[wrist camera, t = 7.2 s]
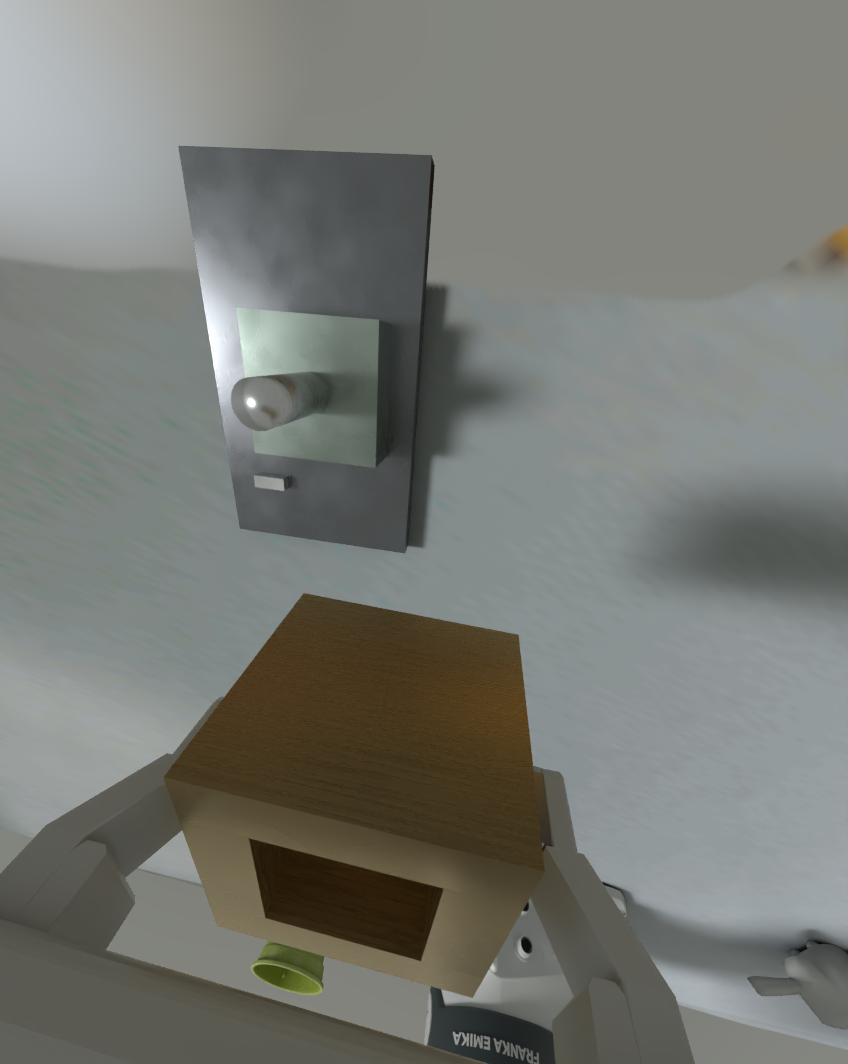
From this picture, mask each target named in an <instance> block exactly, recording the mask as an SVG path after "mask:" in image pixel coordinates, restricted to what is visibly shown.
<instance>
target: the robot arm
mask: <svg viewBox="0 0 848 1064" xmlns="http://www.w3.org/2000/svg"><path fill="white" fill-rule="evenodd" d="M223 698H224V697H220V698H219V699H217V700H216V701H215V702H214V703H213V704H212V705H211V706H210V708H209V709H208V710H207V711H206V713H205V714H204V715H203V716H202V718H201V719H200V720H199V722H198V723H197V724H196V725H195V727H194V728H193V729H192V730H191V732H190V733H189V734H188V735H187V737H186V738H185V739H184V741H183V742H182V743H181V744H180V746H179V747H178V748H177V749H176V751H175V752H174V753H173V754H168V753H167V754H165V755H164V756H162V757H160V758H159V759H157V760H155V761H153V762H152V763H150V764H148V765H147V766H145V767H143V768H142V769H140V770H138V771H137V772H135V773H133V774H132V775H130V776H128V777H127V778H125V779H123V780H122V781H120V782H118V783H116V784H115V785H113V786H111V787H110V788H108V789H106V790H105V791H103V792H101V793H100V794H98V795H96V796H95V797H93V798H91V799H90V800H88V801H86V802H85V803H83V804H81V805H79V806H78V807H76V808H74V809H73V810H71V811H69V812H68V813H66V814H64V815H63V816H61V817H59V818H58V819H56V820H54V821H53V822H51V823H49V824H48V825H46V826H45V827H44V828H43V829H42V830H41V831H40V832H39V833H38V834H37V835H36V836H35V837H34V839H33V840H32V841H31V842H30V843H29V844H28V845H27V846H26V847H25V848H24V849H23V850H22V852H20V853H19V855H18V856H17V857H16V858H15V859H14V860H13V861H12V862H11V863H10V864H9V865H8V866H7V867H6V868H5V869H4V870H3V872H2V873H1V874H0V1064H695V1062H694V1059H693V1056H692V1052H691V1049H690V1045H689V1042H688V1038H687V1035H686V1031H685V1028H684V1024H683V1021H682V1018H681V1014H680V1011H679V1008H678V1004H677V1001H676V997H675V995H674V994H673V992H672V991H671V989H670V988H669V986H668V984H667V983H666V981H665V980H664V978H663V977H662V975H661V974H660V972H659V970H658V969H657V967H656V966H655V964H654V963H653V961H652V960H651V958H650V956H649V955H648V953H647V952H646V950H645V949H644V947H643V946H642V944H641V942H640V941H639V939H638V938H637V936H636V935H635V933H634V932H633V930H632V928H631V927H630V925H629V924H628V922H627V921H626V916H627V910H626V904H625V899H624V897H623V895H622V893H621V892H620V891H619V890H616V889H614V888H611V887H608V886H605V885H603V883H602V882H601V880H600V879H599V877H598V876H597V874H596V872H595V871H594V869H593V868H592V866H591V865H590V863H589V862H588V860H587V858H586V857H585V855H584V854H580V853H577V847H576V842H575V836H574V831H573V826H572V820H571V815H570V810H569V804H568V799H567V793H566V788H565V783H564V778H563V776H562V774H561V773H560V772H557V771H552V770H548V769H543V768H539V767H536V766H533V770H534V779H535V788H536V797H537V806H538V815H539V824H540V833H541V842H542V851H543V860H544V869H545V873H544V874H543V876H542V878H541V879H540V881H539V883H538V885H537V886H536V888H535V890H534V892H533V893H532V895H531V897H530V899H529V900H528V902H527V904H526V906H525V907H524V909H523V911H522V913H521V914H520V916H519V918H518V920H517V921H516V923H515V925H514V927H513V928H512V930H511V932H510V934H509V935H508V937H507V939H506V941H505V942H504V944H503V946H502V948H501V949H500V951H499V953H498V955H497V956H496V958H495V960H494V962H493V963H492V965H491V967H490V969H489V970H488V972H487V974H486V976H485V977H484V979H483V981H482V983H481V984H480V986H479V988H478V990H477V991H476V993H475V995H474V997H473V998H471V997H467V996H464V995H460V994H456V993H453V992H449V991H446V990H442V989H439V988H435V987H432V986H431V989H430V992H429V998H428V1007H427V1018H426V1028H425V1040H424V1045H423V1044H420V1043H416V1042H413V1041H410V1040H406V1039H403V1038H399V1037H396V1036H393V1035H390V1034H386V1033H383V1032H380V1031H376V1030H373V1029H370V1028H366V1027H363V1026H359V1025H356V1024H353V1023H349V1022H345V1021H343V1020H339V1019H336V1018H332V1017H329V1016H326V1015H322V1014H319V1013H316V1012H312V1011H309V1010H306V1009H302V1008H299V1007H296V1006H292V1005H289V1004H286V1003H282V1002H279V1001H276V1000H272V999H268V998H265V997H262V996H258V995H255V994H252V993H249V992H245V991H242V990H239V989H235V988H232V987H229V986H225V985H222V984H218V983H215V982H212V981H208V980H205V979H202V978H198V977H195V976H192V975H188V974H185V973H181V972H178V971H175V970H172V969H168V968H165V967H161V966H158V965H154V964H151V963H148V962H144V961H141V960H138V959H134V958H131V957H128V956H125V955H121V954H118V953H114V952H111V951H107V950H106V949H107V947H108V946H109V944H110V942H111V941H112V939H113V938H114V936H115V934H116V933H117V931H118V930H119V928H120V926H121V925H122V923H123V921H124V920H125V918H126V917H127V915H128V914H129V912H130V910H131V909H132V907H133V906H134V904H135V895H134V894H133V892H132V890H131V888H130V886H129V885H128V883H127V881H126V879H125V877H127V876H128V875H129V874H130V873H132V872H133V871H134V870H135V869H136V868H137V867H139V866H140V865H141V864H142V863H143V862H145V861H146V860H147V859H148V858H149V857H151V856H152V855H153V854H154V853H155V852H156V851H158V850H159V849H160V848H161V847H162V846H164V845H165V844H166V843H167V842H168V841H170V840H171V839H172V838H173V837H174V836H175V835H177V834H178V833H179V832H180V831H181V830H182V827H181V825H180V822H179V819H178V816H177V814H176V811H175V808H174V805H173V803H172V800H171V797H170V794H169V792H168V789H167V786H166V784H165V781H164V778H163V777H164V776H165V774H166V773H167V772H168V770H169V769H170V768H171V766H172V765H173V764H174V763H175V761H176V760H177V759H178V757H179V756H180V755H181V753H182V752H183V751H184V749H185V748H186V747H187V746H188V744H189V743H190V742H191V740H192V739H193V738H194V736H195V735H196V734H197V732H198V731H199V730H200V728H201V727H202V726H203V725H204V723H205V722H206V721H207V719H208V718H209V717H210V715H211V714H212V713H213V711H214V710H215V709H216V708H217V706H218V705H219V704H220V702H221V701H222V700H223Z"/></svg>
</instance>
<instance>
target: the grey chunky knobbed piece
mask: <svg viewBox="0 0 848 1064" xmlns="http://www.w3.org/2000/svg"><path fill="white" fill-rule="evenodd" d="M806 946H807V949H806V950H804V951H802V952H800V951H798V950H796V949H792V950H790V957H788V958H786V959H785V960H784V966H785V970H786V973H787V976H788V977H789V978H772V977H760V976H752V977H748V978H747V979H748V980H749V982H750V983H751V985H752V986H753V987H754V989H755V990H756V992H757V993H758V994H759V995H761V996H782V995H795V994H799V995H800V996H801V997H802V998H803V1000H804V1001H805V1002H806V1003H807V1005H808V1006H809V1007H810V1008H811V1010H812V1011H813V1012H814V1013H815V1014H816V1016H817V1017H818V1018H819V1019H820V1021H821V1022H822V1023H823V1024H826V1025H828V1026H831V1027H835V1028H840V1029H848V954H847V953H846V952H845V951H843V950H842V949H840V948H839V947H837V946H834V945H831V944H817V943H816V942H814V941H807V943H806Z"/></svg>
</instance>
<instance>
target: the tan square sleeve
mask: <svg viewBox="0 0 848 1064" xmlns="http://www.w3.org/2000/svg"><path fill="white" fill-rule="evenodd" d="M163 778H164V781H165V784H166V786H167V789H168V792H169V794H170V797H171V800H172V803H173V805H174V808H175V811H176V814H177V816H178V819H179V822H180V825H181V827H182V830H183V833H184V836H185V838H186V841H187V844H188V847H189V849H190V852H191V855H192V858H193V860H194V863H195V866H196V869H197V871H198V874H199V877H200V880H201V882H202V885H203V888H204V890H205V893H206V896H207V899H208V901H209V904H210V907H211V910H212V912H213V915H214V918H215V921H216V924H217V926H219V927H223V928H226V929H230V930H233V931H237V932H240V933H244V934H247V935H251V936H254V937H258V938H261V939H265V940H269V941H272V942H276V943H279V944H283V945H286V946H290V947H293V948H297V949H300V950H304V951H308V952H311V953H315V954H318V955H322V956H326V957H329V958H332V959H336V960H340V961H343V962H347V963H350V964H354V965H357V966H361V967H364V968H368V969H372V970H375V971H379V972H382V973H386V974H389V975H393V976H396V977H400V978H403V979H407V980H410V981H415V982H418V983H421V984H425V985H429V986H432V987H435V988H439V989H442V990H446V991H449V992H453V993H456V994H460V995H464V996H467V997H471V998H473V997H474V995H475V993H476V991H477V990H478V988H479V986H480V984H481V983H482V981H483V979H484V977H485V976H486V974H487V972H488V970H489V969H490V967H491V965H492V963H493V962H494V960H495V958H496V956H497V955H498V953H499V951H500V949H501V948H502V946H503V944H504V942H505V941H506V939H507V937H508V935H509V934H510V932H511V930H512V928H513V927H514V925H515V923H516V921H517V920H518V918H519V916H520V914H521V913H522V911H523V909H524V907H525V906H526V904H527V902H528V900H529V899H530V897H531V895H532V893H533V892H534V890H535V888H536V886H537V885H538V883H539V881H540V879H541V878H542V876H543V874H544V873H545V869H544V860H543V851H542V842H541V833H540V824H539V815H538V806H537V797H536V788H535V779H534V770H533V761H532V752H531V743H530V734H529V725H528V716H527V707H526V699H525V690H524V681H523V672H522V663H521V654H520V645H519V636H518V635H516V634H511V633H506V632H501V631H496V630H491V629H485V628H480V627H475V626H470V625H465V624H460V623H454V622H449V621H444V620H439V619H434V618H429V617H423V616H418V615H413V614H408V613H403V612H398V611H393V610H387V609H382V608H377V607H372V606H367V605H362V604H356V603H351V602H346V601H341V600H336V599H331V598H325V597H320V596H315V595H310V594H305V593H304V594H303V595H302V596H301V597H300V599H299V600H298V601H297V603H296V604H295V605H294V607H293V608H292V609H291V611H290V612H289V613H288V614H287V616H286V617H285V618H284V620H283V621H282V622H281V624H280V625H279V626H278V628H277V629H276V630H275V632H274V633H273V634H272V635H271V637H270V638H269V639H268V641H267V642H266V643H265V645H264V646H263V647H262V649H261V650H260V651H259V652H258V654H257V655H256V656H255V658H254V659H253V660H252V662H251V663H250V664H249V666H248V667H247V668H246V670H245V671H244V672H243V673H242V675H241V676H240V677H239V679H238V680H237V681H236V683H235V684H234V685H233V687H232V688H231V689H230V690H229V692H228V693H227V694H226V696H225V697H224V698H223V700H222V701H221V702H220V704H219V705H218V706H217V708H216V709H215V710H214V711H213V713H212V714H211V715H210V717H209V718H208V719H207V721H206V722H205V723H204V725H203V726H202V727H201V728H200V730H199V731H198V732H197V734H196V735H195V736H194V738H193V739H192V740H191V742H190V743H189V744H188V746H187V747H186V748H185V749H184V751H183V752H182V753H181V755H180V756H179V757H178V759H177V760H176V761H175V763H174V764H173V765H172V766H171V768H170V769H169V770H168V772H167V773H166V774H165V776H164V777H163Z"/></svg>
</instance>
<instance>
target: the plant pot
mask: <svg viewBox="0 0 848 1064" xmlns="http://www.w3.org/2000/svg"><path fill="white" fill-rule="evenodd" d="M323 960H324V956H322V955H318V954H315V953H311V952H308V951H304V950H300V949H297V948H293V947H290V946H286V945H283V944H279V943H276V942H272V941H269V940H268V942H267V945H266V946H265V947H264V948H263V950H262V952H261V954H260V956H259V958H258V960H257V961H255V962H254V963H253V964H252V966H251V970H252V972H253V973H254V974H255V975H256V976H257V977H258V978H259V979H262V980H263V981H264V982H266V983H269V984H270V985H272V986H275V987H277V988H280V989H283V990H286V991H289V992H293V993H299V994H304V995H318V994H320V993H321V992H322V991H323V983H322V976H323V969H324V967H323Z"/></svg>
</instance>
